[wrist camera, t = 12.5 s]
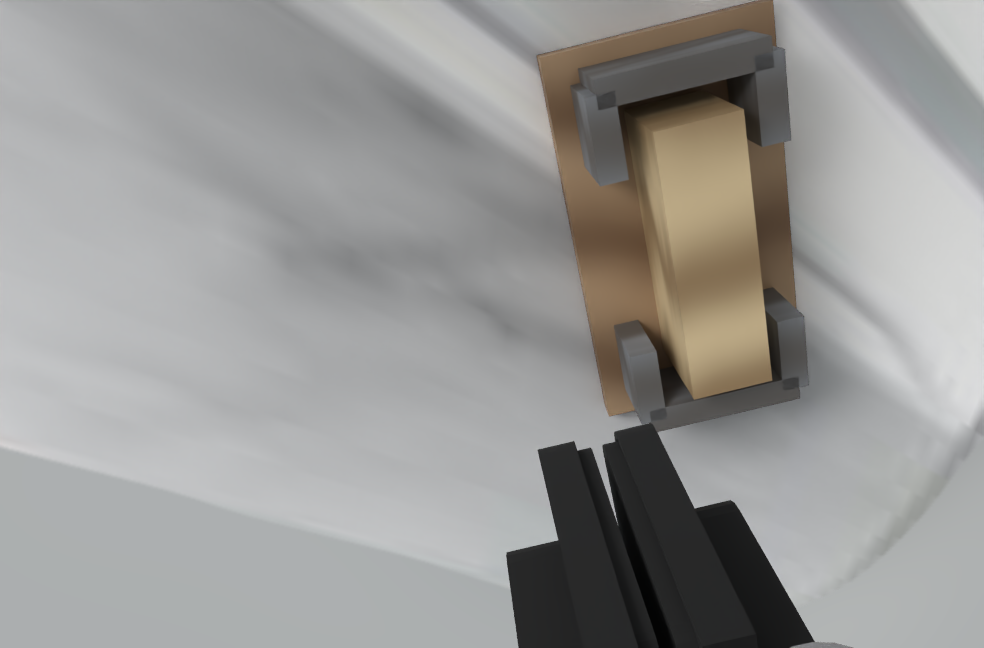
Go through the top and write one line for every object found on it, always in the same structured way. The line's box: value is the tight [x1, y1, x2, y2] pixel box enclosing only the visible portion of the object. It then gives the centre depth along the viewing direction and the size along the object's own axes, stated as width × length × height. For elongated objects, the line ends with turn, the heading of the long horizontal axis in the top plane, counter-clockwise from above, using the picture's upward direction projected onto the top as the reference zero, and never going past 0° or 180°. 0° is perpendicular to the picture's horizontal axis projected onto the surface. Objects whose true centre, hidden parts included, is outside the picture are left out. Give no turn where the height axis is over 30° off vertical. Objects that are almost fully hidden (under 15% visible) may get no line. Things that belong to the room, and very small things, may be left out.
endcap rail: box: [536, 0, 809, 432], centre depth 37 cm, size 18×10×4 cm, turn 13°
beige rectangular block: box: [624, 90, 772, 400], centre depth 35 cm, size 12×4×5 cm, turn 13°
